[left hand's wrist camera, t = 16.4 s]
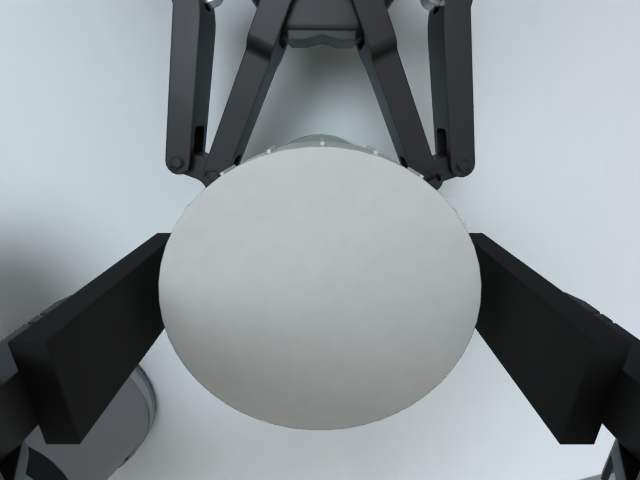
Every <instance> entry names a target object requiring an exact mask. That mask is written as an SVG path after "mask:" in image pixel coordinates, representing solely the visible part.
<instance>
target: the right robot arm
mask: <svg viewBox="0 0 640 480" xmlns="http://www.w3.org/2000/svg"><path fill="white" fill-rule="evenodd" d="M252 1H253V3H254V4H255V6H256V8H257V10H256V13H255V16H254V19H253V22H252V25H251V28H250V30H249V33H248V37H247V45H246V50H245V53H244V56H243V59H242V62H241V65H240V67H239V70H238V73H237V76H236V79H235V82H234V84H233V87H232V90H231V93H230V96H229V99H228V101H227V104H226V107H225V110H224V113H223V116H222V118H221V121H220V124H219V127H218V130H217V133H216V136H215V138H214V141H213V144H212V147H211V150H210V153H206V152H205V146H206V135H207V123H208V112H209V100H210V89H211V77H212V66H213V54H214V43H215V26H216V24H215V12H214V8H215V7H218V6H219V5H220V4H221V3H222V2H223V0H172V2H173V14H172V35H171V56H170V76H169V97H168V117H167V138H166V159H165V161H166V166H167V167H168V169H169V170H170V171H171V172H172V173H175V174H185V175H188V176H190V177H193V178H196V179H198V180H200V181H201V182H202V183H203V184H204V185H205V187H206V188H207V187H208V186H209V185H210V184H211V183H213V182H214V181H215V180H216V179H218V178H219V177H221V175H220V173H221V172H223V171H224V170H226V169H228V168H229V167H231V166H233V165H235V166H236V167H237V166H238V165H239V164H240V162H241V159H242V156H243V154H244V151H245V149H246V146H247V143H248V141H249V138H250V136H251V133H252V131H253V128H254V125H255V123H256V120H257V118H258V115H259V112H260V110H261V107H262V105H263V102H264V100H265V97H266V94H267V92H268V89H269V87H270V84H271V81H272V79H273V76H274V74H275V71H276V69H277V67H278V65H279V64H280V62H281V59H282V57H283V55H284V52H285V49H286V47H287V44H289V45H291V48H307V47H311V46H314V45H317V44H321V43H322V44H326V45H329V46H332V47H335V48H352V47H353V45H356V47H357V50H358V52H359V55H360V58H361V60H362V63H363V65H364V66H365V68H366V70H367V73H368V76H369V78H370V81H371V84H372V87H373V89H374V92H375V95H376V98H377V100H378V103H379V106H380V109H381V111H382V114H383V117H384V120H385V122H386V125H387V128H388V131H389V133H390V136H391V139H392V142H393V144H394V147H395V150H396V153H397V155H398V158H399V161H400V164H401V166H403V167H405V168H406V169H407V168H408V167H410V168H411V169H413V170H415V171H416V172H418V173H420V174H421V175H423V176H424V177H423V178H422V179H424V180H425V181H426V182H427V183H428V184H430V185H431V186H432V187H433V188H434V189H435V190H438V189H439V188H440V187H441V185H442V182H443V181H445V180H448V179H451V178H454V177H457V176H458V177H465V176H468V175H469V174H470V173H471V172H472V171H473V169H474V166H475V148H474V112H473V76H472V40H471V4H472V1H473V0H420V2H421V4H422V6H423V7H424V8H425V9H427V10H429V11H430V12H429V18H428V47H429V62H430V77H431V92H432V107H433V122H434V137H435V152H436V154H435V155H433V156H432V154H431V151H430V148H429V145H428V142H427V139H426V136H425V133H424V130H423V127H422V124H421V121H420V118H419V115H418V112H417V109H416V106H415V103H414V100H413V97H412V94H411V91H410V87H409V84H408V81H407V78H406V75H405V72H404V69H403V66H402V63H401V60H400V57H399V54H398V51H397V40H396V36H395V32H394V29H393V26H392V23H391V20H390V17H389V14H388V11H387V9H388V8H389V6H390V5H391V3H392V2H393V0H252Z"/></svg>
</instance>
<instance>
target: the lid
mask: <svg viewBox="0 0 640 480" xmlns="http://www.w3.org/2000/svg"><path fill="white" fill-rule="evenodd" d="M220 175H221V177H219V178H218V179H216V180H215V181H214V182H213V183H211V184H210V185H209V186H208V187H207V188H205V189H204V190H203V191H202V192H201V193H200V194H199V195H198V196H197V197H196V198H195V199H194V200H193V202H192V203H191V204H189V205H188V206H187V207H186V208H185V209H186V210H185V211H184V213H183V214H182V216H181V217H180V219H179V220H178V222H177V223H176V225H175V227H174V229H173V231H172V233H171V235H170V238H169V240H168V242H167V244H166V247H165V251H164V254H163V258H162V262H161V267H160V275H159V303H160V309H161V314H162V320H163V323H164V326H165V329H166V332H167V335H168V338H169V340H170V342H171V344H172V346H173V348H174V350H175V352H176V354H177V355H178V356H179V358H180V359H181V361H182V362H183V364H184V365H185V367H186V368H187V369H188V371H189V372H190V373H191V374H192V375H193V376H194V377H195V379H196V380H197V381H198V382H199V383H200V384H201V385H203V386H204V387H205V388H206V389H207V390H208V391H209V392H210V393H212V394H213V395H214V396H216V397H217V398H219V399H220V400H221V401H223V402H224V403H226V404H227V405H229V406H231V407H233V408H235V409H236V410H238V411H240V412H242V413H244V414H247V415H249V416H251V417H254V418H256V419H258V420H262V421H265V422H268V423H271V424H275V425H279V426H284V427H289V428H296V429H306V430H334V429H344V428H350V427H355V426H361V425H365V424H368V423H372V422H375V421H378V420H381V419H384V418H386V417H389V416H391V415H393V414H396V413H398V412H400V411H402V410H403V409H405V408H407V407H409V406H411V405H413V404H414V403H416V402H417V401H418V400H420V399H421V398H423V397H424V396H426V395H427V394H428V393H429V392H431V391H432V390H433V389H434V388H435V387H436V386H437V385H438V384H440V383H441V382H442V381H443V379H444V378H445V377H446V376H447V375H448V374H449V373H450V372H451V370H452V369H453V368H454V367H455V365H456V364H457V362H458V361H459V359H460V358H461V356H462V355H463V353H464V351H465V349H466V347H467V345H468V343H469V341H470V339H471V337H472V334H473V331H474V328H475V325H476V323H477V319H478V313H479V308H480V303H481V277H480V268H479V262H478V259H477V255H476V251H475V248H474V245H473V242H472V240H471V238H470V236H469V233H468V231H467V229H466V227H465V225H464V224H463V222H462V221H461V219H460V218H459V216H458V214H457V212H456V210H455V209H454V208H453V207H452V206H451V205H450V204H449V203H448V202H447V201H446V200H445V198H444V197H443V196H442V195H441V194H440V193H439V192H438V191H437V190H435V189H434V188H433V187H432V186H431V185H430V184H428V183H427V182H426V181H425V180H424V179H422V178H423V177H424V176H423V175H421V174H420V173H418V172H416V171H415V170H413V169H411V168H410V167H408V168H407V169H406V168H405V167H403V166H401V165H400V164H398V163H397V162H395V161H393V160H392V159H390V158H389V157H386V156H384V155H382V154H379V153H378V151H376V150H375V149H373V148H372V147H370V146H367V148H363V147H360V146H356V145H353V144H347V143H340V142H333V141H324V138H320V141H307V142H300V143H292V144H287V145H284V146H280V147H277V145H273V146H272V147H270V148H269V149H267V150H266V151H265V152H263V153H260V154H258V155H256V156H253V157H251V158H250V159H248V160H246V161H245V162H243V163H242V164H240V165H238V166H237V167H236V166H235V165H233V166H231V167H229V168H228V169H226V170H224V171H223V172H221V173H220Z"/></svg>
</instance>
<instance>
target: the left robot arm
mask: <svg viewBox="0 0 640 480" xmlns="http://www.w3.org/2000/svg"><path fill="white" fill-rule="evenodd" d="M170 235H171V233H157V234H156V235H154V236H153V237H151V238H150V239H149V240H147V241H146V242H145V243H143V244H142V245H140V246H139V247H138V248H136V249H135V250H134V251H132V252H131V253H130V254H128V255H127V256H125V257H124V258H123V259H121V260H120V261H119V262H117V263H116V264H114V265H113V266H112V267H110V268H109V269H108V270H106V271H105V272H103V273H102V274H101V275H99V276H98V277H97V278H95V279H94V280H92V281H91V282H90V283H88V284H87V285H86V286H84V287H83V288H81V289H80V290H79V291H77V292H76V293H75V294H73V295H71V296H69V297H67V298H65V299H62V300H60V301H58V302H56V303H54V304H53V305H52V306H50V307H49V308H47V309H46V310H45V311H43V312H42V313H41V315H38V316H36V317H35V318H33V319H32V320H30V321H29V322H28V325H23V326H22V327H21V328H19V329H18V330H16V331H15V332H14V333H12V334H11V335H9V336H8V337H7V338H5V339H4V340H2V341H1V342H0V480H107V479H108V478H109V477H110V476H111V475H112V474H113V472H114V471H115V470H116V469H117V468H119V467H120V466H122V465H123V464H124V463H125V462H126V461H127V460H129V459H130V458H131V457H132V456H133V455H134V453H135V452H136V451H137V449H138V448H139V446H140V445H141V444H142V442H143V441H144V439H145V437H146V436H147V434H148V432H149V430H150V428H151V426H152V424H153V421H154V418H155V409H156V405H155V398H154V394H153V391H152V388H151V386H150V384H149V382H148V380H147V379H146V377H145V375H144V374H143V373H142V371H141V370H140V369H139V368H138V366H137V365H138V364H139V362H140V361H141V360H142V358H143V357H144V356H145V354H146V353H147V351H148V350H149V349H150V347H151V346H152V345H153V343H154V342H155V341H156V339H157V338H158V336H159V335H160V334H161V332H162V331H163V330H164V328H165V326H164V323H163V320H162V314H161V309H160V303H159V275H160V267H161V262H162V258H163V254H164V251H165V247H166V244H167V242H168V240H169V238H170ZM469 236H470V238H471V240H472V242H473V245H474V248H475V251H476V255H477V259H478V262H479V268H480V277H481V303H480V308H479V313H478V319H477V323H476V325H475V328H476V330H477V331H478V332H479V334H480V335H481V336H482V338H483V339H484V341H485V342H486V343H487V345H488V346H489V347H490V349H491V350H492V351H493V353H494V354H495V356H496V357H497V358H498V360H499V361H500V362H501V364H502V365H503V367H504V368H505V369H506V371H507V372H508V373H509V375H510V376H511V378H512V379H513V380H514V382H515V383H516V384H517V386H518V387H519V389H520V390H521V391H522V393H523V394H524V395H525V397H526V398H527V400H528V401H529V402H530V404H531V405H532V406H533V408H534V409H535V411H536V412H537V413H538V415H539V416H540V417H541V419H542V420H543V422H544V423H545V424H546V426H547V427H548V428H549V430H550V431H551V433H552V434H553V435H554V437H555V438H556V439H557V441H558V442H559V443H560V444H594V443H595V440H596V438H597V435H598V432H599V430H600V427H601V425H602V424H603V425H604V426H605V427H606V428H607V429H608V430H609V431H610V432H611V433H612V434H613V436H614V437H615V438H616V439H615V441H614V444H613V446H612V449H611V451H610V454H609V456H608V459H607V461H606V464H605V466H604V468H603V471H602V476H601V479H602V480H608V479H609V477H610V474H611V473H615V479H616V480H640V340H639V339H637V338H636V337H635V336H633V335H632V334H630V333H629V332H628V331H626V330H625V329H623V328H622V327H620V326H619V325H618V324H616V323H613V321H612V320H611V319H609V318H608V317H606V316H605V315H603V314H600V312H599V311H598V310H596V309H595V308H594V307H592V306H591V305H589V304H588V303H586V302H585V301H583V300H581V299H579V298H576V297H574V296H572V295H570V294H568V293H565V292H563V291H561V290H560V289H558V288H557V287H556V286H554V285H553V284H552V283H550V282H549V281H548V280H546V279H545V278H543V277H542V276H541V275H539V274H538V273H537V272H535V271H534V270H532V269H531V268H530V267H528V266H527V265H526V264H524V263H523V262H521V261H520V260H519V259H517V258H516V257H515V256H513V255H512V254H510V253H509V252H508V251H506V250H505V249H504V248H502V247H501V246H500V245H498V244H497V243H495V242H494V241H493V240H491V239H490V238H489V237H487V236H486V235H484V234H483V233H469Z"/></svg>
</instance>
